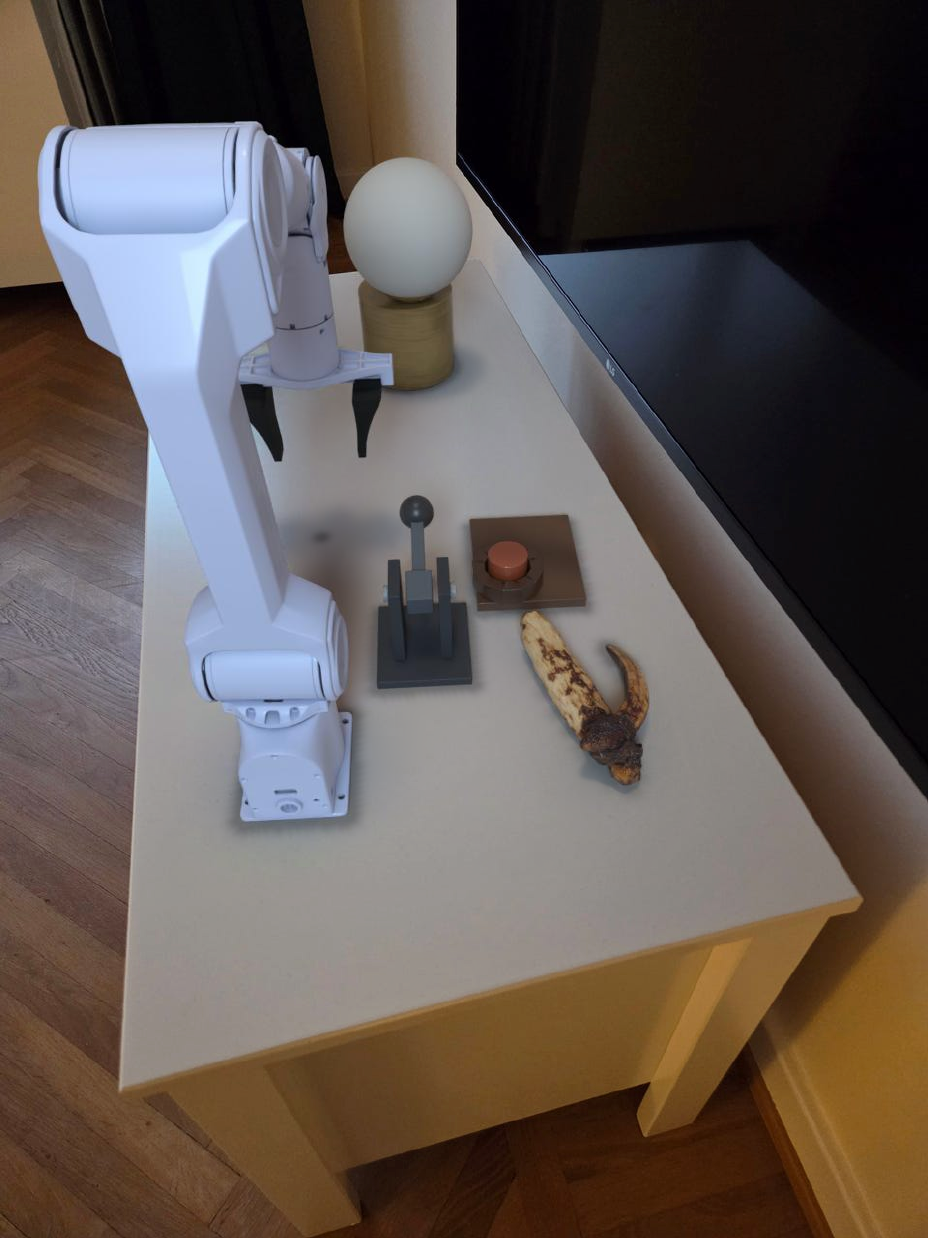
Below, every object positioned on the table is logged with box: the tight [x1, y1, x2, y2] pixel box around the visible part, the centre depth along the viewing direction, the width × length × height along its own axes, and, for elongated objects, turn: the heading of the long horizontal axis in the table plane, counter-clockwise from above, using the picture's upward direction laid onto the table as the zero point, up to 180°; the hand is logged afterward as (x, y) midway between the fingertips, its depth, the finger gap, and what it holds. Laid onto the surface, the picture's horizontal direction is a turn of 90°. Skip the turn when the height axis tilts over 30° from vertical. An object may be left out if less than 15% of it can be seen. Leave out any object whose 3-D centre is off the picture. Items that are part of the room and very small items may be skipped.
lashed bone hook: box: [520, 610, 650, 786], centre depth 68 cm, size 9×5×18 cm
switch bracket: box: [376, 556, 473, 690], centre depth 71 cm, size 9×8×9 cm
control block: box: [468, 514, 587, 612], centre depth 80 cm, size 12×10×3 cm
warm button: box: [488, 541, 528, 581], centre depth 76 cm, size 4×4×2 cm
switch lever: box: [399, 494, 435, 614], centre depth 71 cm, size 11×3×3 cm, turn 3°
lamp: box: [343, 156, 474, 391], centre depth 96 cm, size 15×14×25 cm
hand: (321, 453), depth 77 cm, fingers open, 7 cm apart
